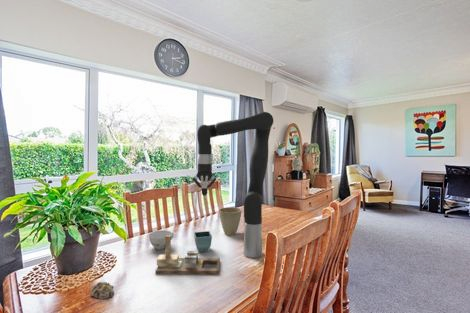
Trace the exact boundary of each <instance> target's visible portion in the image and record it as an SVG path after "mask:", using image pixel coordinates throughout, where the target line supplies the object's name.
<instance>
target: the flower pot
mask: <svg viewBox="0 0 470 313" xmlns="http://www.w3.org/2000/svg"><path fill="white" fill-rule="evenodd" d="M193 236H194V237H193V238H194V243H195V246H196V249H197V250H196V251H198V253H203V252H204V253H205V252H208V251H209V250H210V249H211V246H212V239H213V236H212V234H211V232H210V231H209V230H208V231H196V232H195V231H194V232H193Z"/></svg>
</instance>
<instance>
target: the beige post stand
mask: <svg viewBox="0 0 470 313" xmlns="http://www.w3.org/2000/svg"><path fill="white" fill-rule="evenodd" d="M171 248H172V240H171V235H166V236H165V249H164V250H165V252H164V254H158V255H159V256H158V257H157V259H156V266H157V267H158V266H177V264H178V262H179V258H180V256H179V254H172V252H171V251H172V250H171Z"/></svg>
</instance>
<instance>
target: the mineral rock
mask: <svg viewBox="0 0 470 313" xmlns="http://www.w3.org/2000/svg"><path fill="white" fill-rule="evenodd" d="M114 295H115V291H114V285H113V284H112V285H111V284H110V283H109V282H106V281H104V282H102V281H99V282H97V283H96V284H95V285H93V287H92V289H91V292H90V296H91V297H94V298H97V299H102V300H103V299H108V298H112V297H113V296H114Z"/></svg>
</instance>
